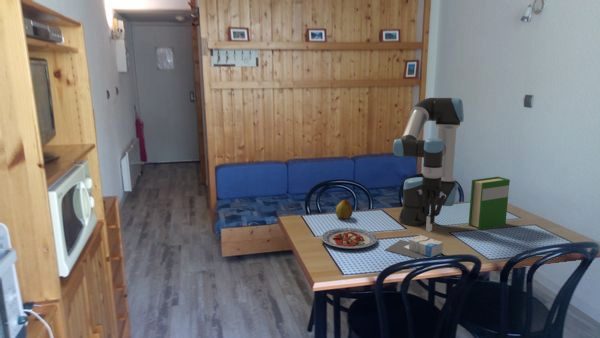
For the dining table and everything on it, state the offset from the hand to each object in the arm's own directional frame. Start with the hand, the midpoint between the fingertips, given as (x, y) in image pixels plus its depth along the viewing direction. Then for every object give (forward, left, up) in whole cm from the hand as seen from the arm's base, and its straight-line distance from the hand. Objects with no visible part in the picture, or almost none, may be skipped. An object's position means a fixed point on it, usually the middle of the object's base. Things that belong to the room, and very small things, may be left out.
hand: (428, 230), depth 186 cm
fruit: (-56, +19, -11) cm, 60 cm away
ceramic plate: (-35, -8, -11) cm, 38 cm away
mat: (-7, 0, -11) cm, 13 cm away
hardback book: (+8, +55, -11) cm, 57 cm away
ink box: (+4, +1, -8) cm, 9 cm away
